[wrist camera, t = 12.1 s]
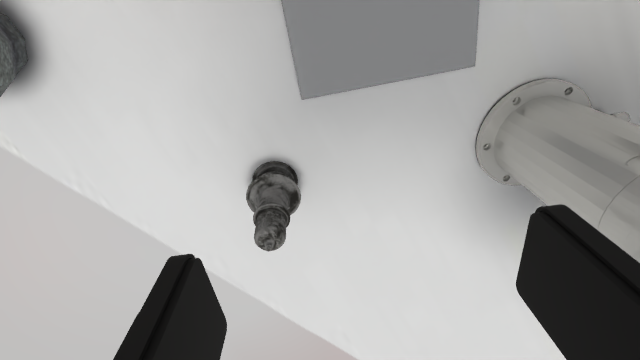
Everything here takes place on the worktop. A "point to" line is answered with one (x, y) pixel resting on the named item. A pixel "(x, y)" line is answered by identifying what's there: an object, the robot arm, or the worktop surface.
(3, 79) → the mortar and pestle
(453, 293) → the worktop surface
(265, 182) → the dark stone chess piece
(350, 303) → the worktop surface
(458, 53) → the rubber mat
